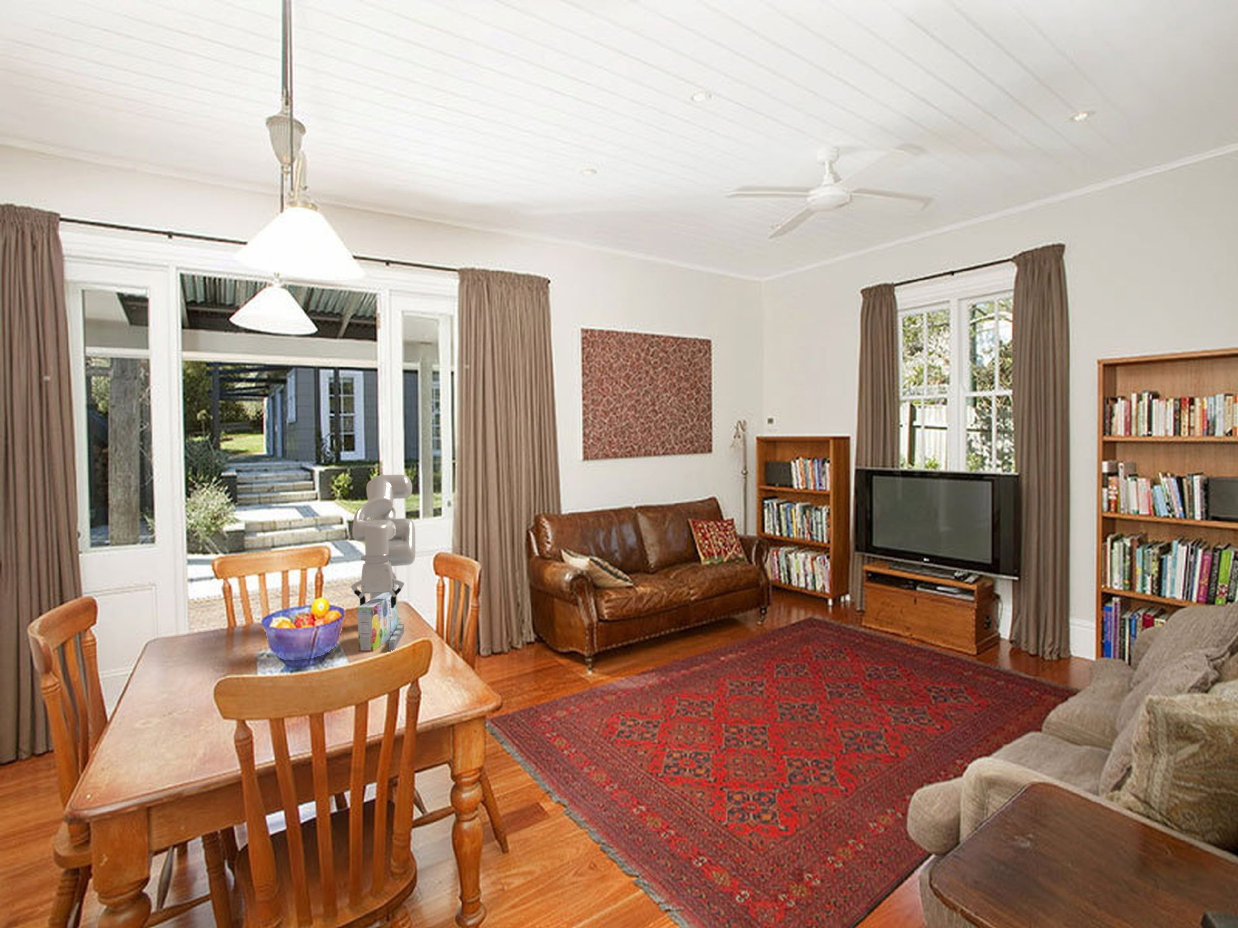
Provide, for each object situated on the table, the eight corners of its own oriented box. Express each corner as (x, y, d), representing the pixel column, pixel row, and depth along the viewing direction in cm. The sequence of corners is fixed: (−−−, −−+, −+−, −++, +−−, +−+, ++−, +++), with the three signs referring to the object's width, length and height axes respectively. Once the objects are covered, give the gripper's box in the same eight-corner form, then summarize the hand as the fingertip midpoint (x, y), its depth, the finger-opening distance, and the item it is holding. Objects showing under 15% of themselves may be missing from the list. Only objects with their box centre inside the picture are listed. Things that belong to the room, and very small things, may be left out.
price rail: (399, 632, 232) (399, 623, 231) (404, 631, 232) (404, 623, 232) (388, 651, 210) (388, 641, 210) (394, 650, 210) (394, 641, 210)
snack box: (384, 632, 231) (383, 591, 231) (399, 632, 231) (398, 591, 231) (357, 651, 210) (356, 606, 210) (373, 651, 210) (373, 606, 210)
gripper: (348, 562, 214) (349, 612, 215) (401, 560, 217) (402, 609, 218) (353, 557, 221) (354, 606, 222) (404, 556, 224) (405, 603, 225)
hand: (378, 607), depth 220 cm, fingers open, 9 cm apart
